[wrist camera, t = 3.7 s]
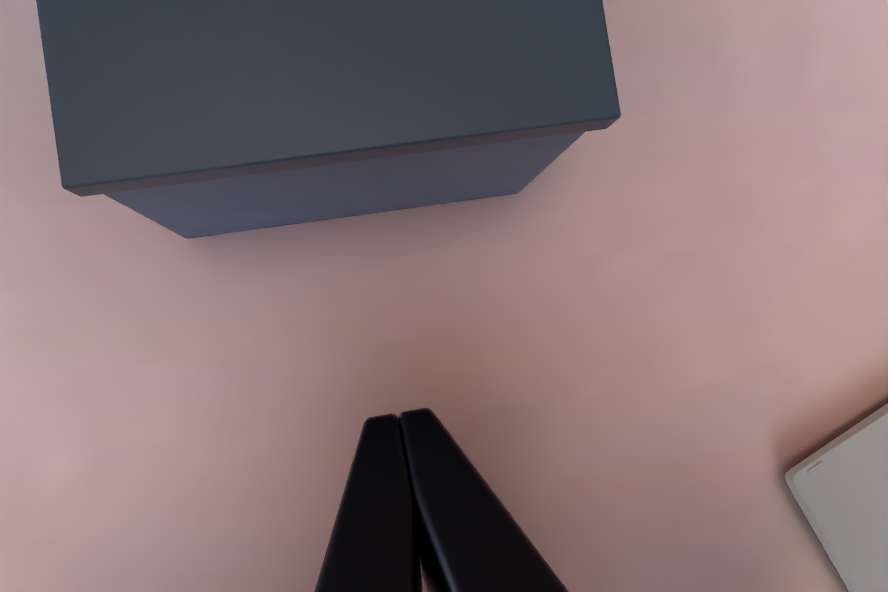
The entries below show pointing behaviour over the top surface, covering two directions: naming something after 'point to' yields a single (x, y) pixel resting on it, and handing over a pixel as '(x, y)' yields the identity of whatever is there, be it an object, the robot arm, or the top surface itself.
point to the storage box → (317, 102)
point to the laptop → (850, 501)
